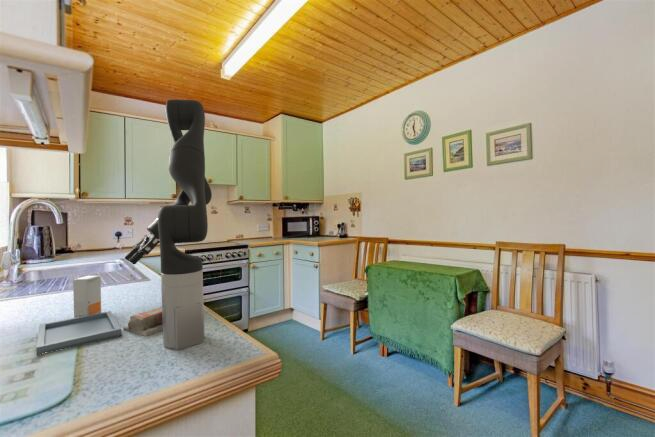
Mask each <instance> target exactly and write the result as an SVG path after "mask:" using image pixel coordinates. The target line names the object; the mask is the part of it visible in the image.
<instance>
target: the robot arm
mask: <svg viewBox="0 0 655 437" xmlns="http://www.w3.org/2000/svg"><path fill="white" fill-rule="evenodd" d="M164 109H165V117H166V121H167V125H168V128H169V131H170V134H171V137H172V140H173V145H172V146H171V148H170V151H169V155H168V156H169V158H168V171H169V175H170V177H171V178H172V179H173V181H174V182H175V183H176V184H177V185H178V187H180V189H181V191H180V193H179V194H178V196H177V197H176V200H175V201H174V202H173V203H172V204H170V205H163V206H161V207H160V208H159V210H158V213H157V218H156V219H154V221H153V222H152V223H150V224H149V225H148V226H147V227H146V230H147V232H149V234H144V235H143V237H142V238H140V239H139V240H138V241H137V242H136V244H134V245H133V247H132V249H131V250H130V251H129V252H128V254H126V255H125V256H124V259H125V260H126V261H128V262H130V263H131V264H132V265H136V264H137V263H138V262H139V261H140V260H141V259H142V258H143V257H145V256H148V255H149V254H150V253H151V252H152V251H153V250H154V249H155V248H156V247H157V246H158V245H159V251H160V253H159V254H160V256H159V257H160V282H161V284H160V285H161V288H160V289H161V307H162V322H163V330H162V342H163V346H164V347H165V348H167V349H175V350H176V351H177V350H181V349H185V348H188V347H192V346H195V345H199V344H202V343H205V342H204V341H205V340H204V339H205V337H206V336H205V313H204V312H205V310H204V308H205V306H204V304H205V303H204V278H203V276H204V274H203V260H202V258H201V257H200V256H196V255H191V254H188V253H186V252H184V251H181V250H180V249H178V248H177V246H176V244H187V243H188V244H189V243H200V242H203V241H205V239H206V238H207V235H208V229H209V228H208V224H209V223H208V212H207V205H208V204H210V202H211V200H212V194H213V193H212V190H211V189H212V188H211V187H210V184H209V183H208V182H209V181H208V179H207V178H206V157H205V144H204V143H205V142H204V138H205V126H206V121H205V120H206V115H205V114H206V113H205V109H204V106H203V104H202V102H200V101H199V100H194V99H168V100H167V101H166V103H165V108H164ZM182 131H187V132H185V133H184V134H183V132H182ZM190 203H191V204H190ZM189 204H190V205H189Z"/></svg>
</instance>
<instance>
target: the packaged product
mask: <svg viewBox="0 0 655 437" xmlns="http://www.w3.org/2000/svg"><path fill="white" fill-rule="evenodd" d="M123 330H124V331H126V332H130V333H132V334H137V335H140V336H144V337H148V336H150V335H153V334H155V333H157V332H161V331H163V322H162V306H161V307H157V308H153V309H151V310H147V311H142V312H139V313H136V314H133V315H131V316H130V317H129V321H128V322H127V326H124V327H123Z"/></svg>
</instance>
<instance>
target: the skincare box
mask: <svg viewBox="0 0 655 437" xmlns="http://www.w3.org/2000/svg"><path fill="white" fill-rule="evenodd" d="M72 280H73V281H72V287H73V288H72V290H73V291H72V292H73V318H76V317H82V316H87V315H92V314H98V313H102V288H101V283H102V282H101V281H102V280H101V275H86V276H81V277H79V278H75V279H72Z"/></svg>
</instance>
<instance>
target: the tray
mask: <svg viewBox="0 0 655 437" xmlns="http://www.w3.org/2000/svg"><path fill="white" fill-rule="evenodd" d="M121 336H122V328H121V326H120V324H119V323H118V321H117V319H116V317H115V316H114V314H113V313H112V311H111V310H108V311H104V312H101V313H98V314H92V315H87V316H82V317H76V318H74V317H72V318H67V319H61V320H56V321H50V322H45V323H44V322H43V323H39V327H38V334H37V341H36V356H40V355H39V354H41V355H43V354H42V353H45V352H50V353H52V352H51V351H54V352H57V351H56V350H58V351H61V350H60V349H63V350H66V349H65V348H67V349H71V348H75V347H79V346H85V345H87V344H92V343H97V342H101V341H104V340H105V341H106V340H109V339H114V338H117V337H121ZM70 347H71V348H70Z"/></svg>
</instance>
